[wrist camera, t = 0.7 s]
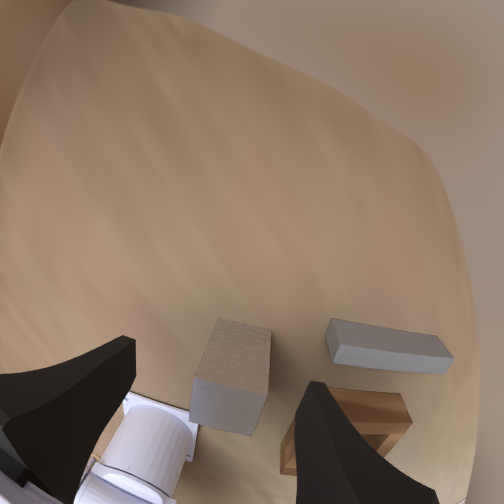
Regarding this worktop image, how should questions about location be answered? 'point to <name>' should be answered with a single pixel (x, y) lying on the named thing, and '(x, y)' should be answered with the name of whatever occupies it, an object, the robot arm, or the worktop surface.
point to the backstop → (386, 348)
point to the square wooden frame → (360, 422)
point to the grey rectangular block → (232, 378)
